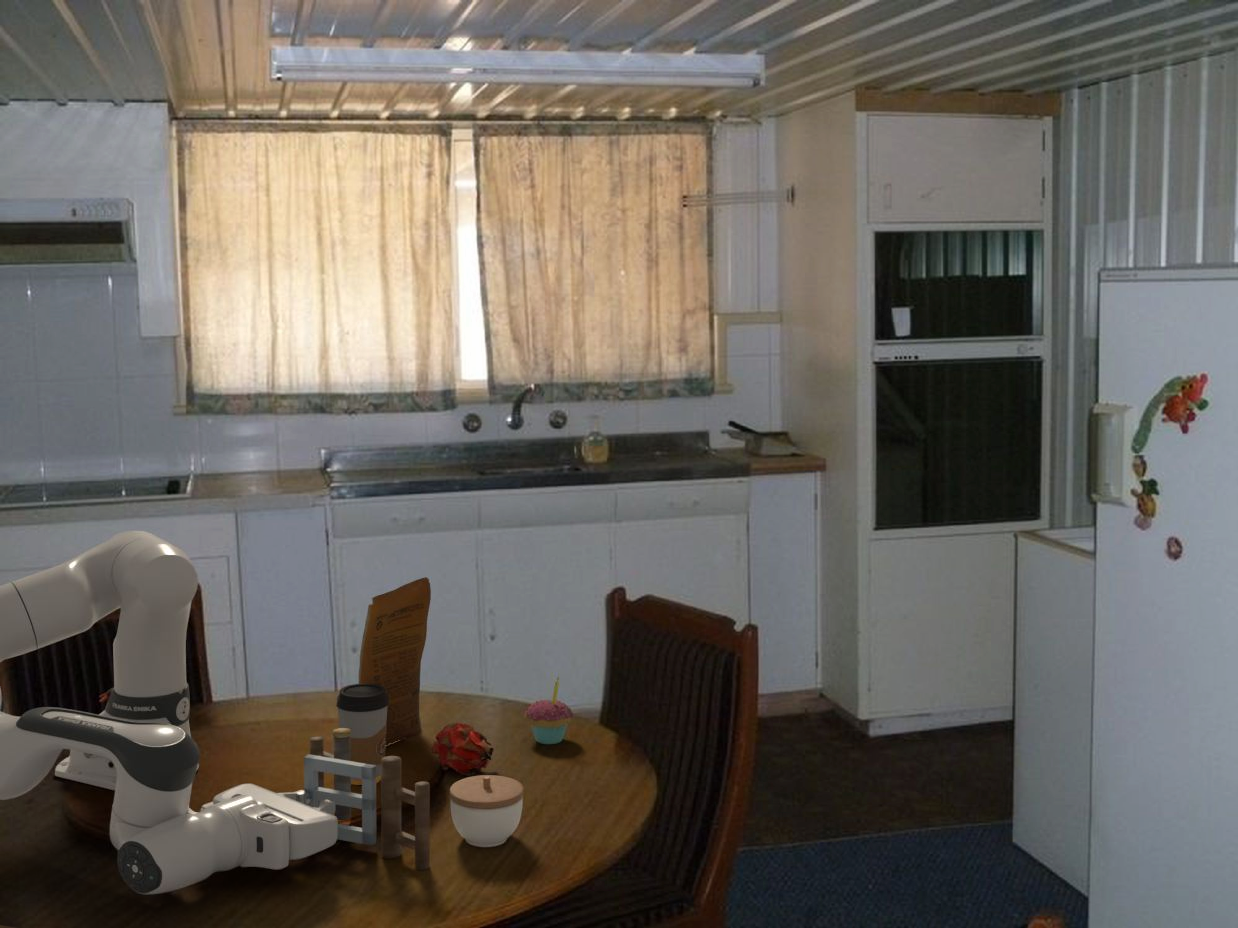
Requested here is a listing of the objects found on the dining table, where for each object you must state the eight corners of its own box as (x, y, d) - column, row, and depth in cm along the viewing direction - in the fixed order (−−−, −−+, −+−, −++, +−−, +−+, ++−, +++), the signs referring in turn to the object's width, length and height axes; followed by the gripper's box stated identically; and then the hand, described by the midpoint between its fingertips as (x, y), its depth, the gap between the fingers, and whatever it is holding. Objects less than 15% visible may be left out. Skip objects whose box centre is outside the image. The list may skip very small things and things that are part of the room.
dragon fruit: (438, 767, 231) (487, 795, 224) (411, 750, 225) (460, 778, 217) (464, 723, 233) (514, 749, 226) (437, 705, 227) (487, 731, 220)
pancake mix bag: (443, 728, 246) (443, 577, 242) (371, 758, 230) (370, 597, 226) (414, 721, 250) (414, 572, 246) (341, 750, 233) (340, 591, 230)
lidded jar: (493, 860, 192) (494, 796, 190) (434, 842, 197) (434, 780, 196) (537, 834, 201) (538, 773, 199) (479, 818, 206) (480, 758, 205)
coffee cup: (377, 791, 216) (377, 699, 214) (328, 786, 218) (327, 695, 215) (396, 772, 224) (396, 684, 222) (349, 767, 226) (348, 680, 224)
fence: (294, 820, 204) (293, 726, 202) (320, 810, 208) (318, 718, 206) (419, 871, 187) (419, 770, 185) (444, 860, 191) (445, 761, 189)
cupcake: (581, 738, 242) (582, 672, 241) (554, 751, 235) (555, 684, 234) (542, 728, 247) (543, 664, 245) (514, 741, 240) (514, 675, 238)
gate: (376, 842, 194) (376, 765, 193) (372, 845, 193) (371, 768, 192) (309, 829, 198) (308, 753, 197) (304, 832, 197) (303, 756, 195)
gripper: (193, 831, 190) (273, 803, 201) (287, 873, 178) (367, 840, 189) (192, 788, 189) (272, 762, 200) (287, 827, 177) (367, 797, 188)
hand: (319, 800), depth 194 cm, fingers open, 4 cm apart
